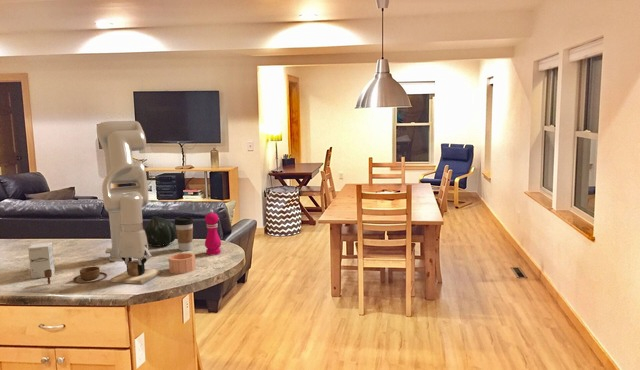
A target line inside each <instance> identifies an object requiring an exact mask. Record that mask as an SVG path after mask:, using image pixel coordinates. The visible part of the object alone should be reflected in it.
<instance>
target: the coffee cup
mask: <svg viewBox="0 0 640 370" xmlns="http://www.w3.org/2000/svg"><path fill="white" fill-rule="evenodd" d="M193 224H194V218H193V217H190V216H177V217H175V218H174V226H175V228H176V238H177V243H178V250H179V251H180V252H188V251H191V250H193V237H194V235H193V234H194V233H193V232H194V226H193Z"/></svg>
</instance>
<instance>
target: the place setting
mask: <svg viewBox="0 0 640 370" xmlns="http://www.w3.org/2000/svg"><path fill="white" fill-rule="evenodd" d="M44 274H45V277H44V278H47V280H46V281H47V285H51V277H53V275H52V270H51V269H48V270H45V271H44ZM100 275H105V276H104V277H102V278H99V277H100ZM107 277H108V274H107V273H106V272H102V271H100V267H99V266H87V267H83V268H81V269H80V270H79V275H77V276H75V277H74V278H73V279H72V281H73V282H74V283H75V284H80V285H81V284H82V285H83V284H92V283H97V282H100V281H103V280H105V279H107ZM98 278H99V279H98ZM79 279H82V280H83V281H77V280H79ZM63 286H64V285H61V286H60V288H61V287H63Z"/></svg>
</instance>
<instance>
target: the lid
mask: <svg viewBox="0 0 640 370" xmlns="http://www.w3.org/2000/svg"><path fill="white" fill-rule="evenodd" d="M138 265H139V262H138V259H132V261H130V262H128V273H127V270H125V271H123V272H121V273H119V274H117V275H115V276H113V277H111V278H110V281H111V282H121V283H136V284H142V283H144V282H146V281H148V280H149V279H151V278H153V277H154V276H156V275H158V274H160V273H161V272H162V271H161V269H153V268H151V269H149V268H148V269H147V268H145V273H144V274H142V275H138Z"/></svg>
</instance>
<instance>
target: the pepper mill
mask: <svg viewBox="0 0 640 370" xmlns="http://www.w3.org/2000/svg"><path fill="white" fill-rule="evenodd" d="M219 220H220V219H219V215H218V214H217V213H214V210H213V209H209V213H207V214H206V215H205V217H204V221H205V222H206V224H205V225H206V227H205V228H207V235H206V238H205V241H204V246H205V248H206V251H205V252H206V253H205V254H206V255H208V256H217V255H219V254H221V246H222V240H221V238H220V235H219V233H218V227H219V226H218V225H219V224H218V221H219Z"/></svg>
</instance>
